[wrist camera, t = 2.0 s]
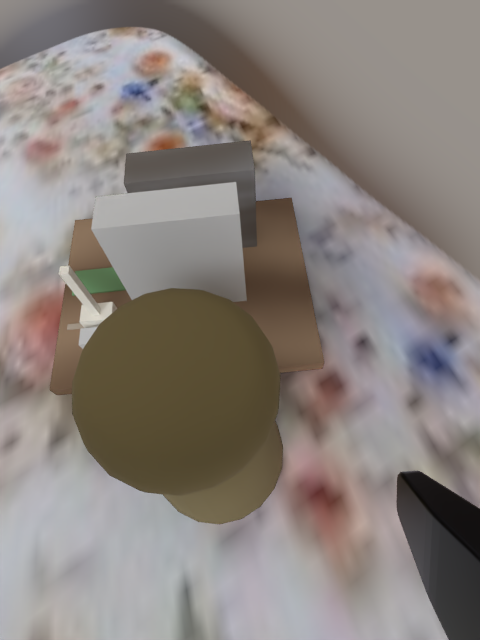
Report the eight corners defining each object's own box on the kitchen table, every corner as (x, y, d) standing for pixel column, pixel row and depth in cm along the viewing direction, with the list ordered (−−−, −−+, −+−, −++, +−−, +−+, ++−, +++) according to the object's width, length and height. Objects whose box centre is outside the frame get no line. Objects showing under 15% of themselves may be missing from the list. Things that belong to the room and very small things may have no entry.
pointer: (118, 328, 21) (81, 277, 16) (87, 331, 21) (43, 281, 16) (119, 311, 21) (84, 258, 17) (89, 314, 21) (47, 262, 17)
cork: (139, 415, 19) (13, 298, 10) (253, 370, 20) (242, 221, 10) (174, 548, 17) (46, 569, 7) (305, 490, 17) (355, 438, 8)
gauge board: (322, 368, 20) (343, 305, 14) (57, 395, 20) (-23, 342, 15) (290, 207, 25) (297, 115, 20) (80, 229, 25) (28, 144, 20)
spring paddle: (251, 358, 19) (239, 213, 11) (83, 375, 19) (-67, 245, 11) (247, 319, 20) (233, 157, 12) (87, 335, 21) (-46, 187, 12)
